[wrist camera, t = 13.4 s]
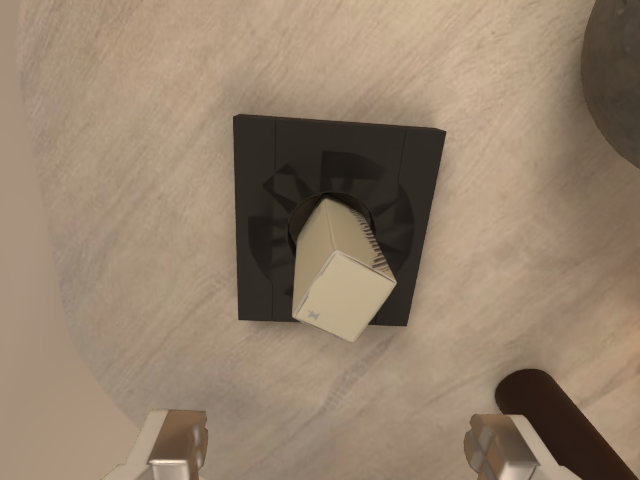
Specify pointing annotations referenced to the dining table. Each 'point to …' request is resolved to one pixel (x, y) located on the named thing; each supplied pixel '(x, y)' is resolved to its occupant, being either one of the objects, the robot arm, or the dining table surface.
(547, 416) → the bottle
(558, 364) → the dining table surface
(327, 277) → the box
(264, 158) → the pad
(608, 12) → the bowl
